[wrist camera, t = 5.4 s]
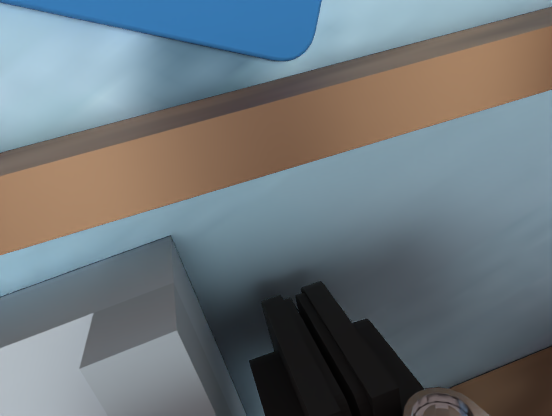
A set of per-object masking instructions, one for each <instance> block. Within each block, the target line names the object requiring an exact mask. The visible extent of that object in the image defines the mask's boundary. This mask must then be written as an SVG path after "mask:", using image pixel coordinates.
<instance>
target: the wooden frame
mask: <svg viewBox="0 0 552 416" xmlns="http://www.w3.org/2000/svg"><path fill="white" fill-rule="evenodd" d="M548 90H552V7H549V8H546V9H542V10H538V11H534V12H530V13H527V14H523V15H519V16H515V17H512V18H508V19H504V20H500V21H496V22H493V23H489V24H485V25H481V26H478V27H474V28H470V29H466V30H462V31H459V32H455V33H451V34H447V35H444V36H440V37H436V38H432V39H428V40H425V41H421V42H417V43H413V44H410V45H406V46H402V47H398V48H394V49H391V50H387V51H383V52H379V53H376V54H372V55H368V56H364V57H360V58H357V59H353V60H349V61H345V62H342V63H338V64H334V65H330V66H326V67H323V68H319V69H315V70H311V71H308V72H304V73H300V74H296V75H292V76H289V77H285V78H281V79H277V80H274V81H270V82H266V83H262V84H258V85H255V86H251V87H247V88H243V89H240V90H236V91H232V92H228V93H224V94H221V95H217V96H213V97H209V98H206V99H202V100H198V101H194V102H190V103H187V104H183V105H179V106H175V107H172V108H168V109H164V110H160V111H156V112H153V113H149V114H145V115H141V116H138V117H134V118H130V119H126V120H122V121H119V122H115V123H111V124H107V125H104V126H100V127H96V128H92V129H88V130H85V131H81V132H77V133H73V134H70V135H66V136H62V137H58V138H54V139H51V140H47V141H43V142H39V143H36V144H32V145H28V146H24V147H20V148H17V149H13V150H9V151H5V152H2V153H0V255H3V254H6V253H9V252H13V251H16V250H19V249H23V248H26V247H29V246H33V245H36V244H39V243H43V242H46V241H49V240H53V239H56V238H59V237H63V236H66V235H69V234H73V233H76V232H79V231H83V230H86V229H89V228H93V227H96V226H99V225H103V224H106V223H109V222H113V221H116V220H119V219H122V218H126V217H129V216H132V215H136V214H139V213H142V212H146V211H149V210H152V209H156V208H159V207H162V206H166V205H169V204H172V203H176V202H179V201H182V200H186V199H189V198H192V197H196V196H199V195H202V194H206V193H209V192H212V191H216V190H219V189H222V188H226V187H229V186H232V185H236V184H239V183H242V182H246V181H249V180H252V179H256V178H259V177H262V176H266V175H269V174H272V173H276V172H279V171H282V170H286V169H289V168H292V167H296V166H299V165H302V164H306V163H309V162H312V161H316V160H319V159H322V158H325V157H329V156H332V155H335V154H339V153H342V152H345V151H349V150H352V149H355V148H359V147H362V146H365V145H369V144H372V143H375V142H379V141H382V140H385V139H389V138H392V137H395V136H399V135H402V134H405V133H409V132H412V131H415V130H419V129H422V128H425V127H429V126H432V125H435V124H439V123H442V122H445V121H449V120H452V119H455V118H459V117H462V116H465V115H469V114H472V113H475V112H479V111H482V110H485V109H489V108H492V107H495V106H499V105H502V104H505V103H509V102H512V101H515V100H518V99H522V98H525V97H528V96H532V95H535V94H538V93H542V92H545V91H548ZM449 389H452V390H454V391H457V392H460V393H462V394H463V395H465V396H466V397H468V398H469V399H471V400H472V401H473V402H475V403H476V404H477V405H478V406H479V407H480V408H482V409H483V410H484V411H485V412H486V413H488V414H489V415H490V416H552V346H551V347H549V348H546V349H544V350H542V351H539V352H537V353H534V354H532V355H529V356H527V357H525V358H522V359H520V360H517V361H515V362H512V363H510V364H508V365H505V366H503V367H500V368H498V369H495V370H493V371H491V372H488V373H486V374H483V375H481V376H478V377H476V378H474V379H471V380H469V381H466V382H464V383H461V384H459V385H457V386H454V387H452V388H449Z"/></svg>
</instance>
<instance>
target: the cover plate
mask: <svg viewBox="0 0 552 416" xmlns="http://www.w3.org/2000/svg"><path fill="white" fill-rule="evenodd" d="M0 416H247V415H246V413H245V410H244V408H243V406H242V403H241V401H240V398H239V396H238V394H237V391H236V389H235V387H234V384H233V382H232V380H231V377H230V375H229V373H228V370H227V368H226V365H225V363H224V361H223V358H222V356H221V354H220V351H219V349H218V347H217V344H216V342H215V339H214V337H213V335H212V332H211V330H210V328H209V325H208V323H207V321H206V318H205V316H204V313H203V311H202V309H201V306H200V304H199V302H198V299H197V297H196V295H195V292H194V290H193V287H192V285H191V283H190V280H189V278H188V276H187V273H186V271H185V269H184V266H183V264H182V262H181V259H180V257H179V254H178V252H177V250H176V247H175V245H174V243H173V240H172V238H171V236H168V237H166V238H163V239H160V240H157V241H155V242H152V243H149V244H146V245H144V246H141V247H138V248H135V249H133V250H130V251H127V252H124V253H122V254H119V255H116V256H113V257H111V258H108V259H105V260H102V261H100V262H97V263H94V264H91V265H88V266H86V267H83V268H80V269H77V270H75V271H72V272H69V273H66V274H64V275H61V276H58V277H55V278H53V279H50V280H47V281H44V282H42V283H39V284H36V285H33V286H31V287H28V288H25V289H22V290H20V291H17V292H14V293H11V294H8V295H6V296H3V297H0Z"/></svg>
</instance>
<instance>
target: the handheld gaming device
mask: <svg viewBox="0 0 552 416" xmlns="http://www.w3.org/2000/svg"><path fill="white" fill-rule="evenodd" d="M0 2H1V3H5V4H10V5H15V6H19V7H24V8H29V9H34V10H38V11H43V12H48V13H52V14H57V15H62V16H66V17H71V18H76V19H80V20H85V21H90V22H94V23H99V24H104V25H108V26H113V27H118V28H123V29H127V30H132V31H137V32H141V33H146V34H151V35H155V36H160V37H165V38H169V39H174V40H179V41H183V42H188V43H193V44H197V45H202V46H207V47H211V48H216V49H221V50H226V51H230V52H235V53H240V54H244V55H249V56H254V57H258V58H263V59H268V60H273V61H289V60H293V59H296V58H298V57H299V56H301V55H302V54H303V53H304V52H305V51H306V50H307V49H308V47H309V46H310V45H311V43H312V40H313V38H314V35H315V31H316V26H317V21H318V16H319V11H320V6H321V2H322V0H0Z"/></svg>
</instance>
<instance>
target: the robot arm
mask: <svg viewBox="0 0 552 416" xmlns="http://www.w3.org/2000/svg"><path fill="white" fill-rule="evenodd" d="M301 292H302V293H301V294H298V295H296V302H297V306H298V310H299V312H298V310H297V309H296V307H295V305H294V303H293V301H292V299H291V298H287V299H283V297H282V296H281V295H278V296H275V297H272V298H269V299H266V300H263V301H261V304H262V308H263V312H264V315H265V319H266V323H267V326H268V330H269V333H270V337H271V341H272V344H273V348H274V352H272V353H269V354H266V355H263V356H261V357H258V358H255V359H252V360H250V361H249V363H250V366H251V369H252V373H253V376H254V379H255V383H256V386H257V390H258V393H259V396H260V400H261V403H262V406H263V410H264V413H265V416H490V415H489V414H488V413H486V412H485V411H484V410H483V409H482V408H480V407H479V406H478V405H477V404H476V403H475V402H473V401H472V400H471V399H469V398H468V397H466V396H465V395H463V394H462V393H460V392H457V391H454V390H452V389H448V388H440V387H435V388H426V389H424V388H423V387H422V386H421V384H420V383H419V382H418V381H417V379H416V378H415V377H414V376H413V374H412V373H411V372H410V371H409V369H408V368H407V367H406V366H405V364H404V363H403V362H402V361H401V359H400V358H399V357H398V356H397V354H396V353H395V352H394V351H393V349H392V348H391V347H390V346H389V344H388V343H387V342H386V341H385V339H384V338H383V337H382V335H381V334H380V333H379V332H378V330H377V329H376V328H375V327H374V325H373V324H372V323H371V322H370V321H369V320H368V319H363V320H360V321H358V322H355V323H351V321H350V320H349V318H348V317H347V316H346V314H345V313H344V311H343V310H342V309H341V307H340V306H339V305H338V303H337V302H336V300H335V299H334V298H333V296H332V295H331V294H330V292H329V291H328V289H327V288H326V287H325V285H324V284H323V283H322V282H321V281H319V282H316V283H313V284H311V285H308V286H305V287H302V288H301Z"/></svg>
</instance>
